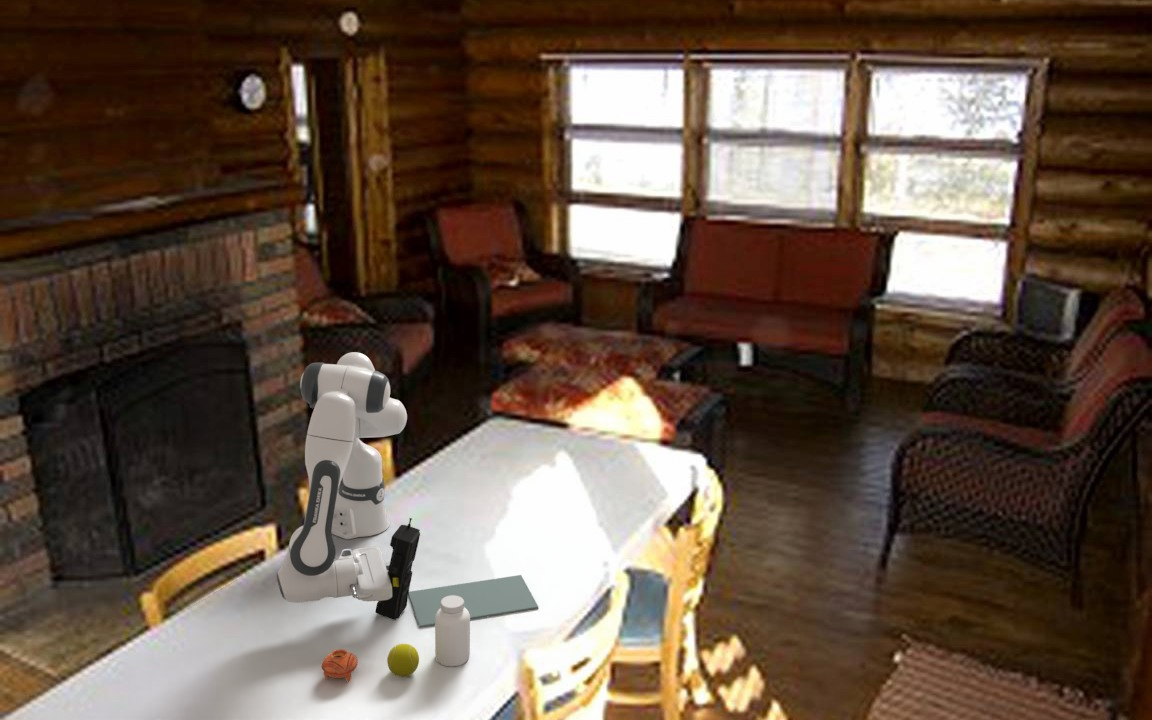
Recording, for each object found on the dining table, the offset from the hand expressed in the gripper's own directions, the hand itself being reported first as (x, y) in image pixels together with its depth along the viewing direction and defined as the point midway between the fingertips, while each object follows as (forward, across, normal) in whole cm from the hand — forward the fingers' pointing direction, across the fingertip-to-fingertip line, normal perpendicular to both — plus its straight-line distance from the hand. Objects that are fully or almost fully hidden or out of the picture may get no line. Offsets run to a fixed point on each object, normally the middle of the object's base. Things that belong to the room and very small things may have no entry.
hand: (405, 569), depth 250 cm
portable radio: (-4, 0, +11) cm, 12 cm away
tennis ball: (-5, -25, +12) cm, 28 cm away
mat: (+17, 0, +12) cm, 21 cm away
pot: (-19, -22, +12) cm, 31 cm away
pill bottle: (+7, -22, +12) cm, 26 cm away
